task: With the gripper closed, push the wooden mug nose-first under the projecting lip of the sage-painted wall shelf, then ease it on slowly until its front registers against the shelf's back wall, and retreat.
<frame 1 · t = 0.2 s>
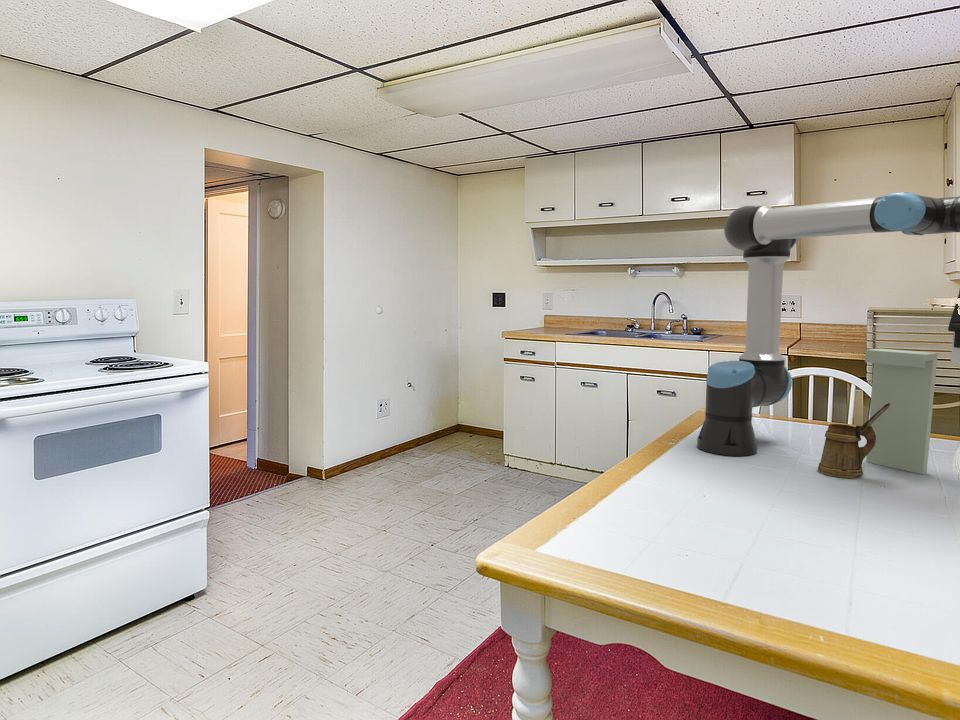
wooden mug: (850, 475, 144), on the table
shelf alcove: (891, 468, 149), on the table
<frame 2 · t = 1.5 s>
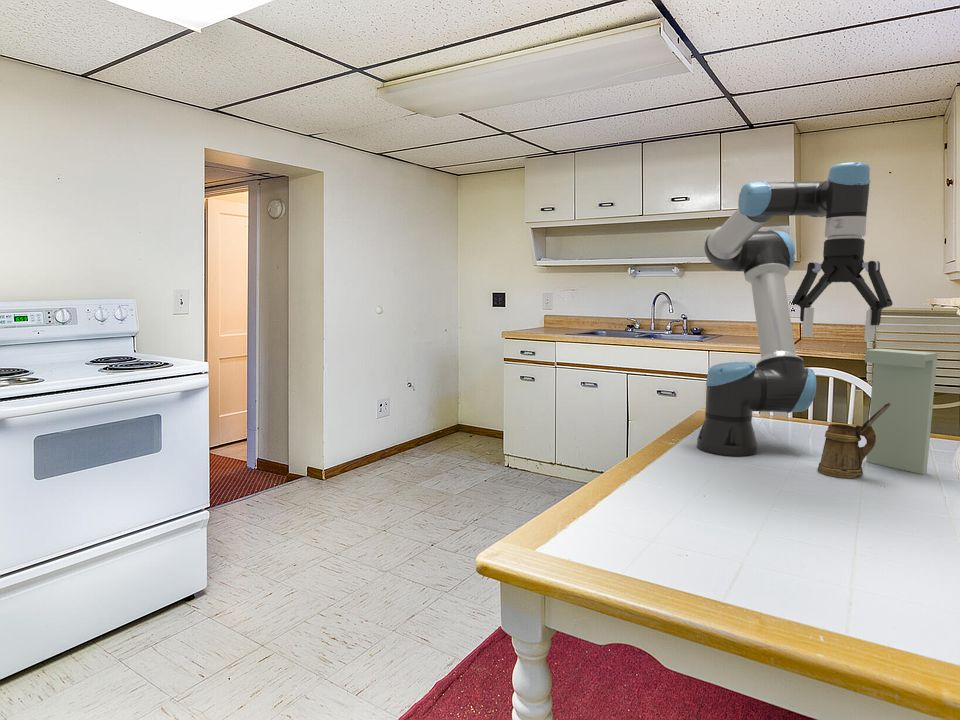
hand: (836, 338, 134), 32 cm above the table, fingers open, 12 cm apart
nothing on the table moved.
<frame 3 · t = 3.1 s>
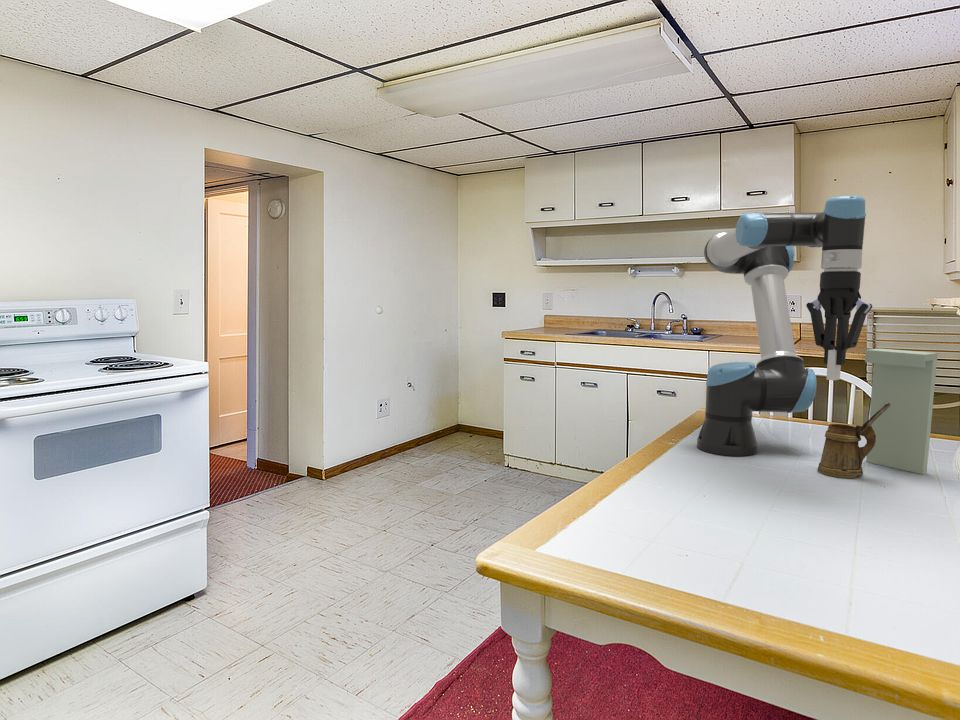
hand: (833, 379, 135), 23 cm above the table, fingers closed
nothing on the table moved.
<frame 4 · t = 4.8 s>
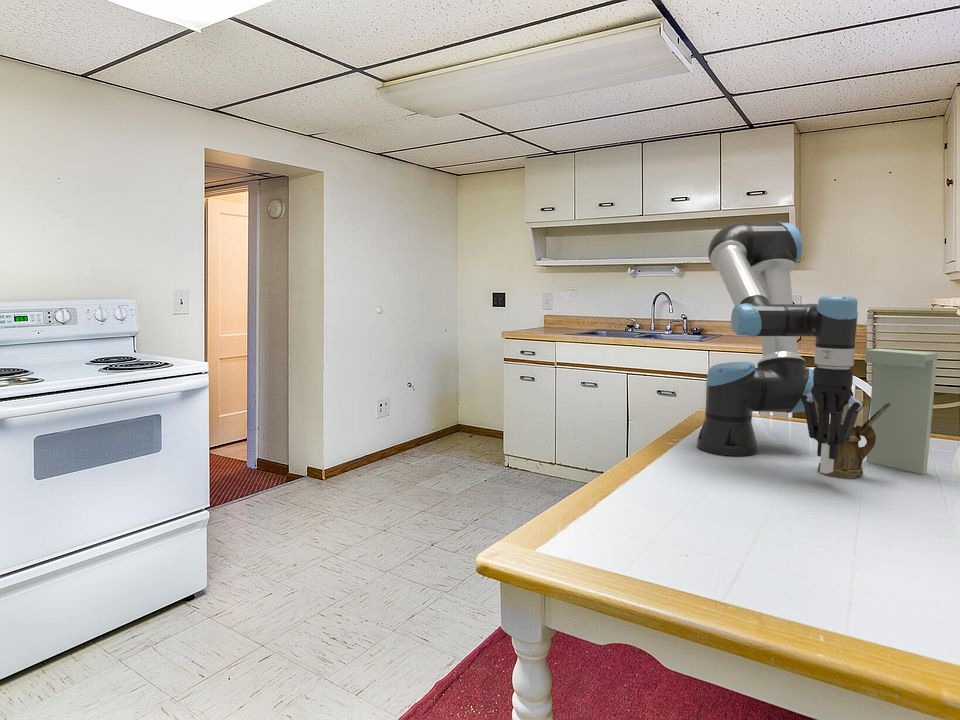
hand: (826, 471, 137), 3 cm above the table, fingers closed
nothing on the table moved.
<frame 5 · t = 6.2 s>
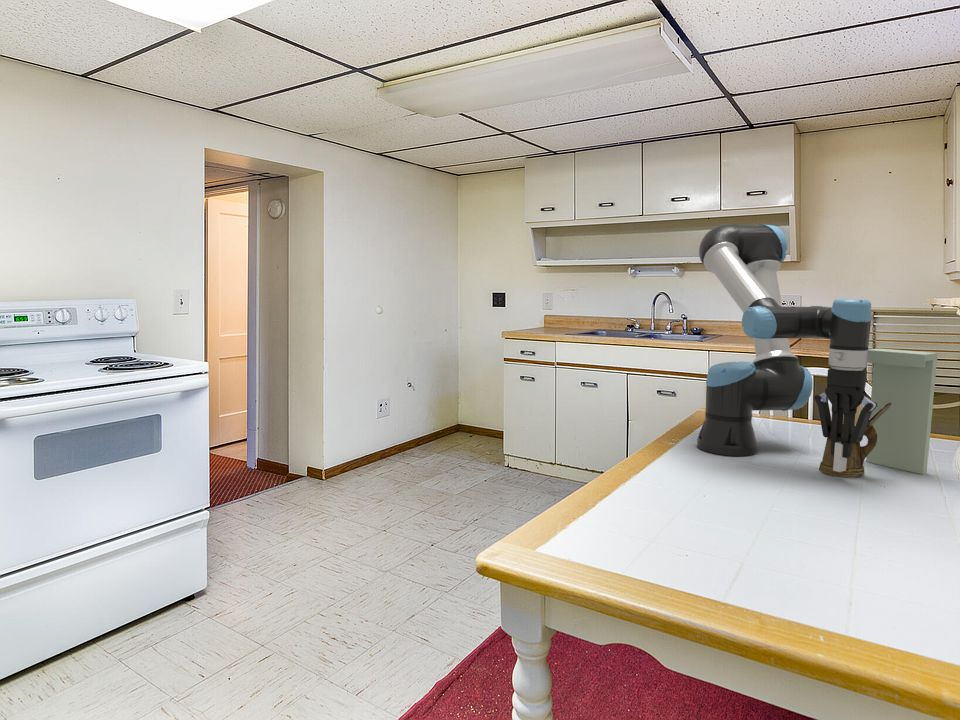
hand: (839, 470, 141), 2 cm above the table, fingers closed
wooden mug: (851, 475, 144), on the table, touching gripper
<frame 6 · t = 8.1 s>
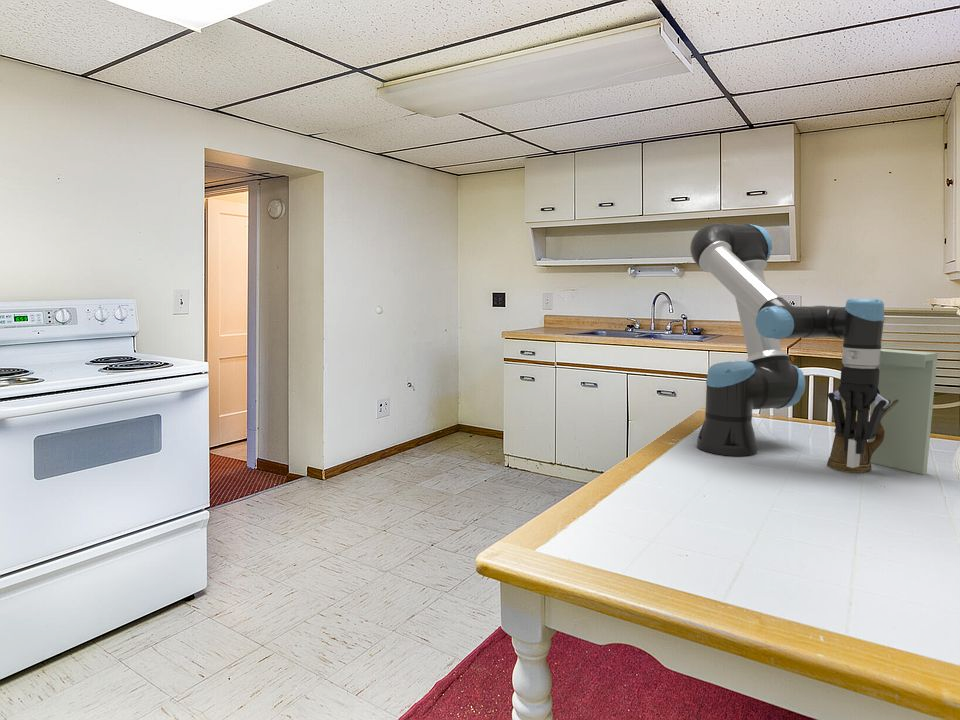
hand: (852, 466, 144), 2 cm above the table, fingers closed
wooden mug: (859, 470, 148), on the table, touching gripper
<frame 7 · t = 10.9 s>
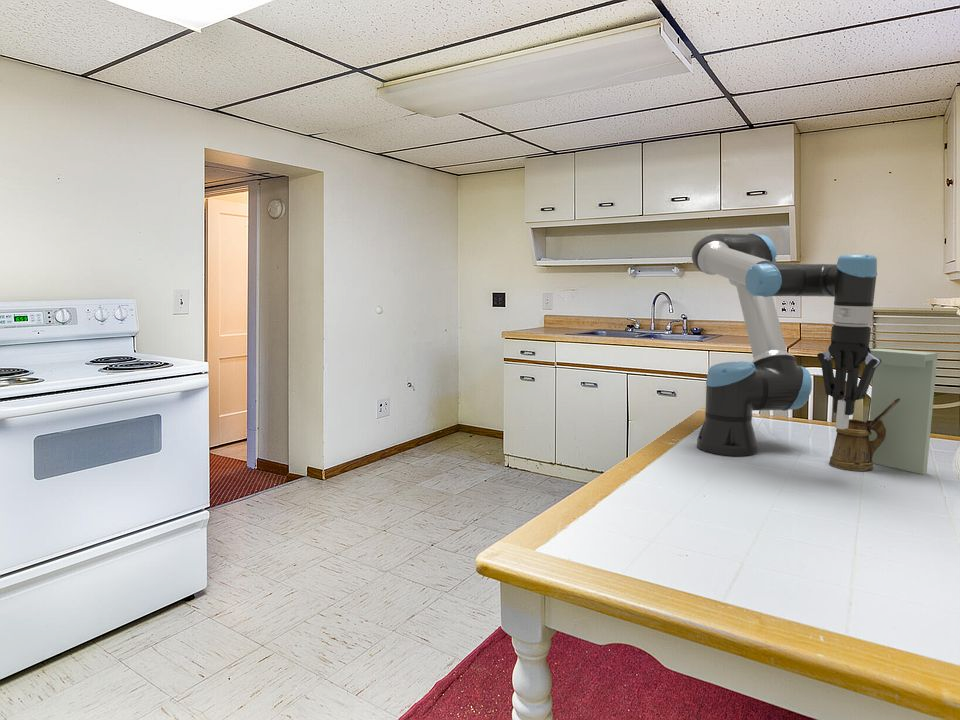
hand: (841, 427, 140), 12 cm above the table, fingers closed
wooden mug: (860, 468, 149), on the table
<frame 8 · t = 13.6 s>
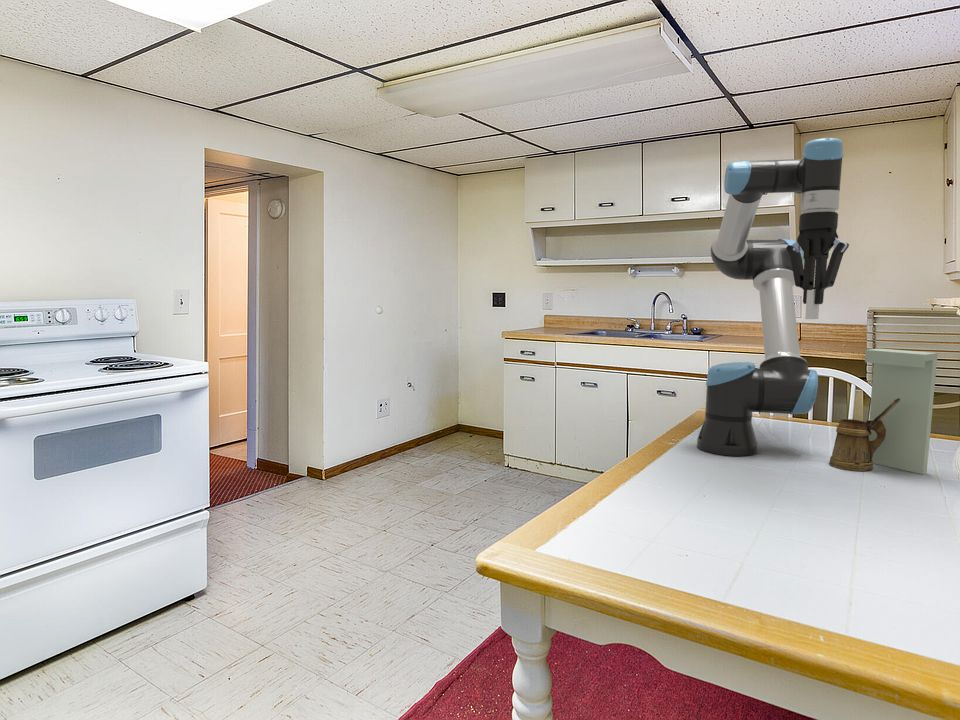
hand: (811, 318, 139), 36 cm above the table, fingers closed
nothing on the table moved.
at the end: wooden mug inside the target area on the table beside the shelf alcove (1.9 cm from its centre), on the table; wooden mug tilted 0°; the gripper is holding nothing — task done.
